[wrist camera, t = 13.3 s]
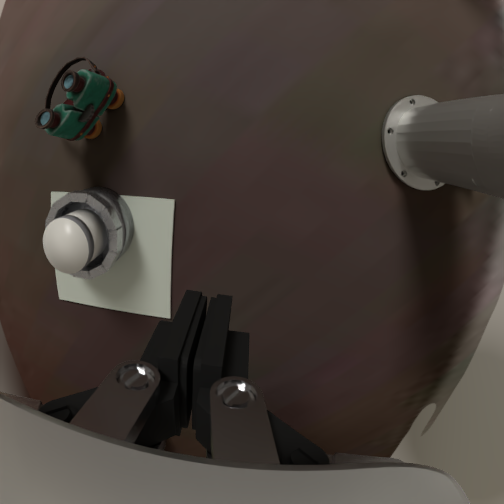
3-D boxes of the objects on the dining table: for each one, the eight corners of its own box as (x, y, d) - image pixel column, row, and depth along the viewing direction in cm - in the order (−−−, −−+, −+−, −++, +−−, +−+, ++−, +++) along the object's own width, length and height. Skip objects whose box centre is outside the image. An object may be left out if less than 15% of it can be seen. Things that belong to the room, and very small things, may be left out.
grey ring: (135, 188, 34) (117, 195, 29) (134, 266, 38) (118, 284, 32) (68, 185, 34) (44, 191, 29) (70, 257, 37) (49, 272, 32)
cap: (107, 210, 31) (87, 220, 26) (108, 261, 33) (90, 278, 28) (64, 206, 31) (41, 216, 26) (66, 255, 33) (45, 270, 28)
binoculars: (46, 34, 20) (94, 71, 21) (92, 59, 30) (138, 95, 31) (2, 103, 21) (41, 150, 23) (54, 113, 32) (94, 153, 33)
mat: (175, 199, 35) (174, 200, 35) (170, 317, 40) (170, 318, 40) (52, 191, 34) (51, 192, 34) (60, 297, 39) (59, 298, 39)
